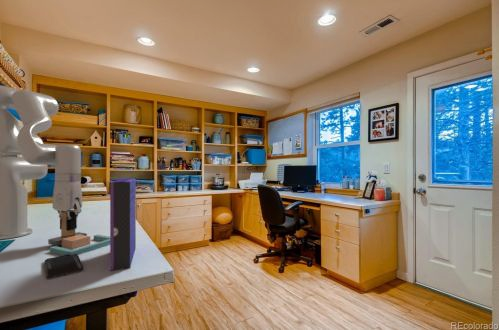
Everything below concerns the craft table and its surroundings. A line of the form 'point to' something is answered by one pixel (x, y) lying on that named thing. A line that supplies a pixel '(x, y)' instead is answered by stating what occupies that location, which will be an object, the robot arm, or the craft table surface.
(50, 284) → the craft table surface
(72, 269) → the phone
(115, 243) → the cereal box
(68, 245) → the tile
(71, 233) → the pusher
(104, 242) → the frame
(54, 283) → the craft table surface
